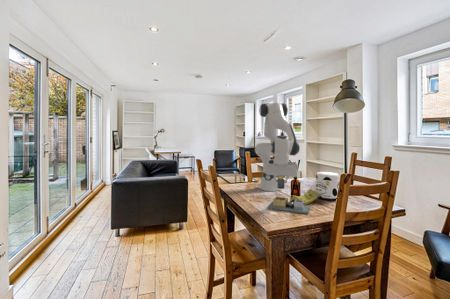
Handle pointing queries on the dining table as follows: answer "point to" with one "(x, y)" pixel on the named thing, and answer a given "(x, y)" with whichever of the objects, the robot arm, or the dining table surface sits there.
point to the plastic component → (306, 197)
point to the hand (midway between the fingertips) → (281, 182)
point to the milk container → (327, 185)
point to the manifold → (289, 205)
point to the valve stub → (281, 182)
